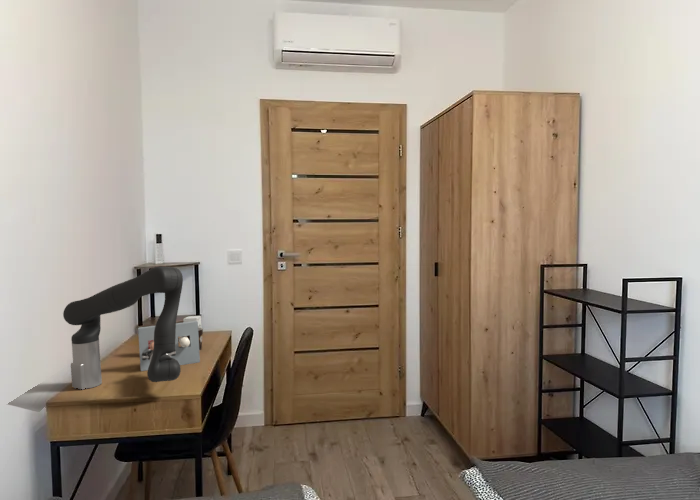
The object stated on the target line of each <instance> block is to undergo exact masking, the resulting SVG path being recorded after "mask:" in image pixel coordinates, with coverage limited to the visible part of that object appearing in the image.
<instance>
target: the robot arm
mask: <svg viewBox="0 0 700 500" xmlns="http://www.w3.org/2000/svg"><path fill="white" fill-rule="evenodd" d="M183 282H184V277H183V273H182V272H181V270H180V269H179V268H177V267H171V266H155V267H152V268H150V269H149V270H147V271H145V272H143V273H141V274H140V275H138V276H136V277H135V278H134V277H133V278H131V279H128V280H126V281H125V280H124V281H123V282H120V283H117V284H115V285H112V286H110V287H108V288H105V289H103V290H101V291H99V292H97V293H95V294H94V295H91V296H90V297H89V296H88V297H86V298H83V299H80V300H74V301H71V302H69V303H68V304H66V306H65V308H64V309H63V312H62V314H63V319H64V321H65V322H66V323H68V325H71V326H80V328H79V329H78V330H77V331H76V332H75V333H73V334H72V336H71V340H70V341H71V354H72V362H71V363H70V373H71V374H70V375H71V388H72V387H74V388H73V389H76V388H78V389H77V390H81V389H82V390H84V389H85V388H86V389H92V388H96V387H98V386H100V385H102V384H103V380H102V379H103V377H102V367H101V366H102V365H101V362H102V361H101V351H100V350H101V349H100V333H101V315H107V314H112V313H115V312H116V313H117V312H119V311H122V310H125V309H128V308H130V307H131V306H134V305H135V304H136V303H137V302H138V301H139V299H140V298H142V297H143V296H144V297H146V296H148V295H151V294H164V302H163V303H164V304H163V307H162V310H161V313H160V314H159V317H158V318H157V321H156V324H155V325H154V326H155V330H154V349H153V350H150V351H147V352H145V353H142V360H146V359H148V360H150V365H149V368H148V370H147V371H146V372H147V373H146V375H147V378H148V380H149V381H150V382H151V383H157V382H158V383H159V382H171V381H175V380H177V379H178V378H179V377H180V375H181V372H182V371H181V369H182V368H181V365H180V364H179V362H178V361H177V360H176V359H174V358H171V356H175V355H176V350H175V335H176V323H177V319H178V312H179V307H180V300H181V296H182V291H183ZM86 389H85V390H86Z"/></svg>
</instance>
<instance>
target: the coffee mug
mask: <svg viewBox="0 0 700 500" xmlns="http://www.w3.org/2000/svg"><path fill="white" fill-rule="evenodd" d="M203 329H204V328H203V327H201V328H198V335H199V351H201V350H202V348H203V346H202V345H203V332H204V330H203ZM187 337H188V339H189V341H190V337H189V336H187ZM189 345H190V344H189Z"/></svg>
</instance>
